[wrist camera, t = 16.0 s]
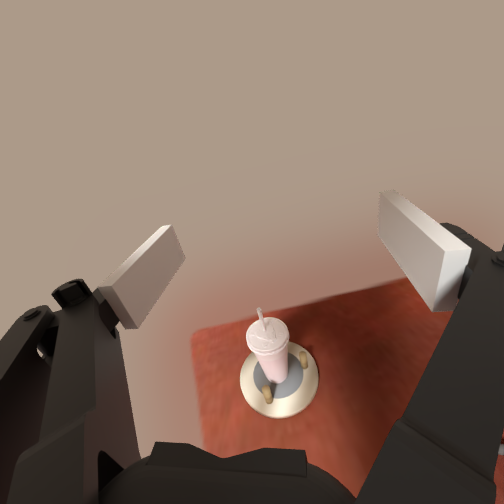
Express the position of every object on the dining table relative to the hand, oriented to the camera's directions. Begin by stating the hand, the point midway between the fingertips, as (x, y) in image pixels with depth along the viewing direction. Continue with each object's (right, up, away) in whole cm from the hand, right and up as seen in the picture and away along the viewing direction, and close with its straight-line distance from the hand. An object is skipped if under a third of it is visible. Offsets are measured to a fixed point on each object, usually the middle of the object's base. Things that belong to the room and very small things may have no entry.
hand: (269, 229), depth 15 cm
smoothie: (+3, -22, +25) cm, 33 cm away
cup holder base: (+3, -22, +25) cm, 34 cm away
